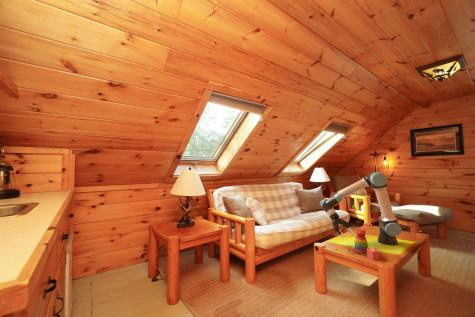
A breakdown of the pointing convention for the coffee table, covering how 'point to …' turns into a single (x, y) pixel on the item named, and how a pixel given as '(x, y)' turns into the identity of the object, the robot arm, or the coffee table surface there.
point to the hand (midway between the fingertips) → (349, 236)
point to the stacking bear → (360, 242)
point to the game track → (363, 254)
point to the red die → (373, 254)
